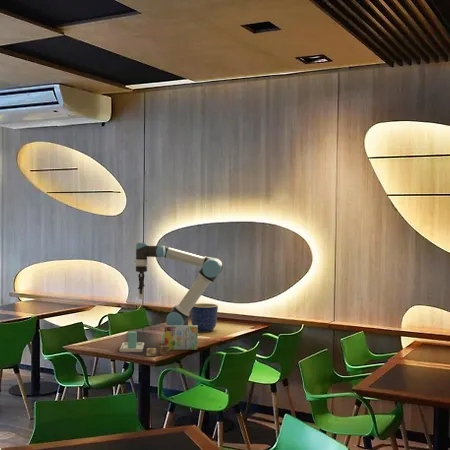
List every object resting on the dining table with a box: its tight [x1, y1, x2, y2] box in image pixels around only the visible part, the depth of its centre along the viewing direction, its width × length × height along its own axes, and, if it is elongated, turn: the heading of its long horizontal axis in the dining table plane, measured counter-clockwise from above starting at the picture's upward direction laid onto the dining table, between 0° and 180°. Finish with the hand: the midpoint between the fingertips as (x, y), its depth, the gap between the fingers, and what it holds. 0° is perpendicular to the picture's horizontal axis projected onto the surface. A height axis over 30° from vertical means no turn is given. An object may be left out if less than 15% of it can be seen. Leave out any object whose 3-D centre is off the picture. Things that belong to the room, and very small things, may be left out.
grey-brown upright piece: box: [160, 332, 165, 345], centre depth 407 cm, size 6×6×7 cm
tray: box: [119, 341, 145, 353], centre depth 392 cm, size 14×20×2 cm
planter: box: [190, 302, 219, 333], centre depth 460 cm, size 21×21×19 cm
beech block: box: [146, 347, 157, 357], centre depth 375 cm, size 5×4×4 cm
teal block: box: [127, 330, 138, 349], centre depth 392 cm, size 5×5×10 cm
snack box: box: [164, 324, 199, 351], centre depth 394 cm, size 21×6×15 cm, turn 92°
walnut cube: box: [159, 345, 171, 356], centre depth 378 cm, size 5×5×5 cm
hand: (141, 297), depth 410 cm, fingers open, 13 cm apart
